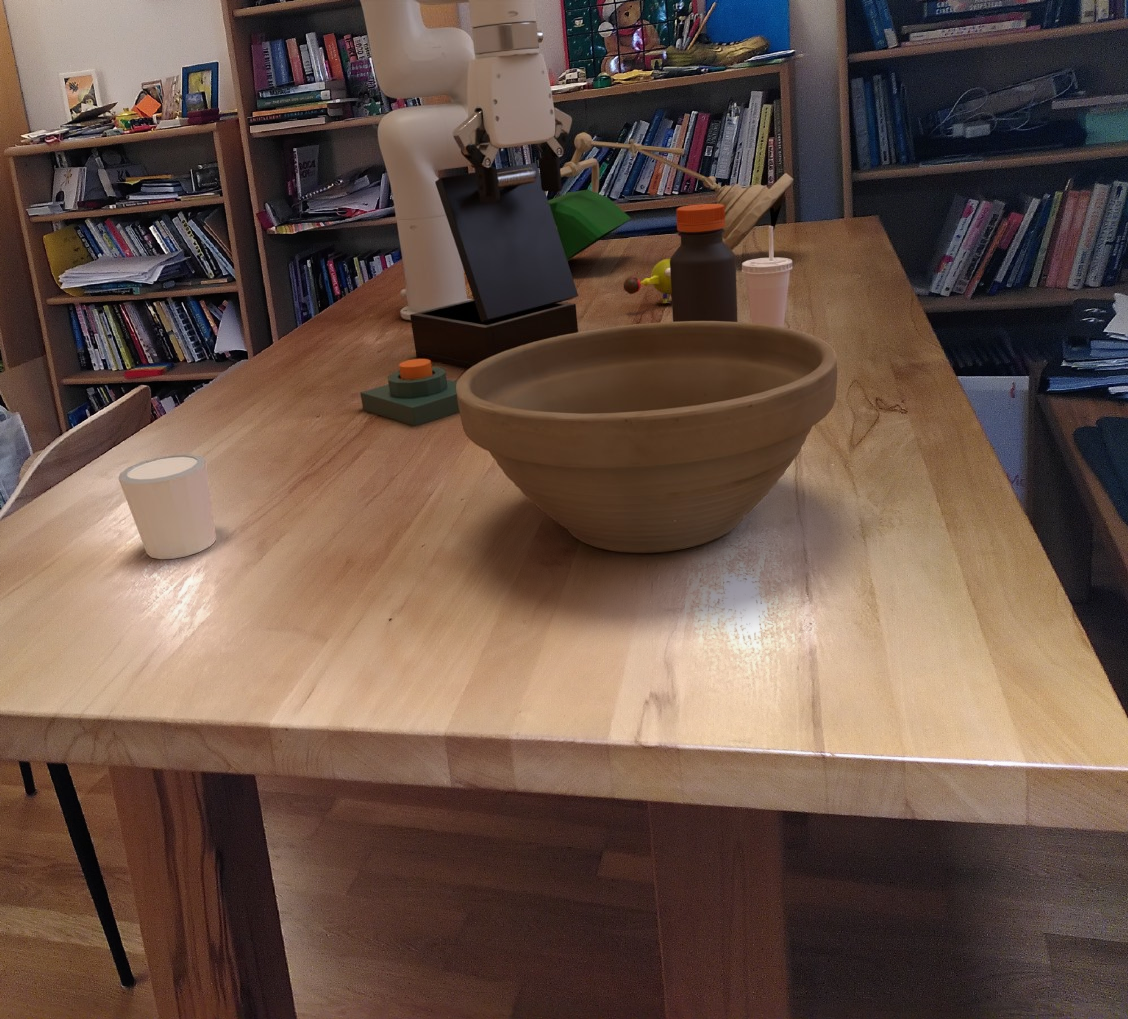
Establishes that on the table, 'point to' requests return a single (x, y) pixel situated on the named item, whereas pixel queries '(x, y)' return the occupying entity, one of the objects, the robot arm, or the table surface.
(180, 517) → the white cylinder
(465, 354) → the dark open lidded box
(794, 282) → the table surface
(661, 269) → the toy figure
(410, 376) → the button
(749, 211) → the desk lamp
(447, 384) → the button block
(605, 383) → the brown mixing bowl
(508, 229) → the grill lid
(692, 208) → the bottle
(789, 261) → the smoothie
